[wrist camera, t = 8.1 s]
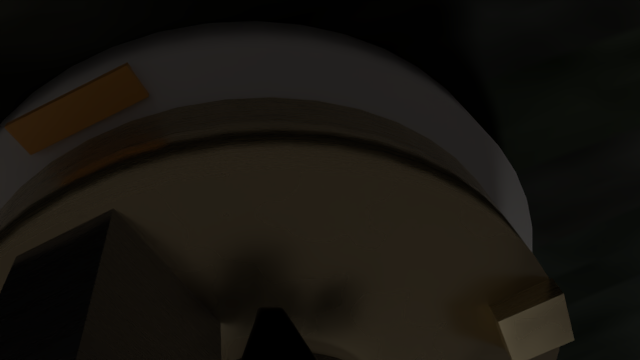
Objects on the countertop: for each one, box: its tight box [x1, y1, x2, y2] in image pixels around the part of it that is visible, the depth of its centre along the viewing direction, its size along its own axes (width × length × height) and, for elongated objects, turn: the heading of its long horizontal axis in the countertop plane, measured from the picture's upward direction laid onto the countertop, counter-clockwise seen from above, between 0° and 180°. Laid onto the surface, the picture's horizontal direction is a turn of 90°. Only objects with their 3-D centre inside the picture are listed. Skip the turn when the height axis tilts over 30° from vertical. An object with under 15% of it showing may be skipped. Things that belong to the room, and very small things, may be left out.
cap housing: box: [0, 21, 532, 252], centre depth 17 cm, size 18×18×2 cm
